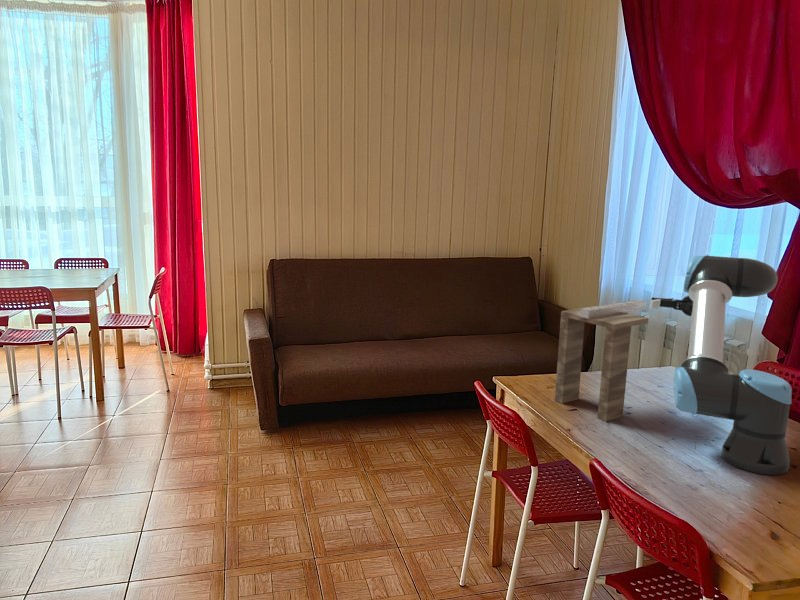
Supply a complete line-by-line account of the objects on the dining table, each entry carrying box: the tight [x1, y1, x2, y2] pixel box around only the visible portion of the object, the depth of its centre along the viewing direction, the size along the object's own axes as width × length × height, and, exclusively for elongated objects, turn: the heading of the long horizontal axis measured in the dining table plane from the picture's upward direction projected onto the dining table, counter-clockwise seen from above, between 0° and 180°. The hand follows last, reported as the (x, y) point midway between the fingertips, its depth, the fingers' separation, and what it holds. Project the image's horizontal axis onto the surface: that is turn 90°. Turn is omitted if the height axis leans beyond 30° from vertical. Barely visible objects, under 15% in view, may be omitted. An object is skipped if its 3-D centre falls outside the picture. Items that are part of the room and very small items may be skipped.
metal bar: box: [581, 299, 647, 319], centre depth 188 cm, size 3×28×2 cm, turn 124°
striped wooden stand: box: [554, 305, 649, 422], centre depth 189 cm, size 20×16×30 cm
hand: (671, 309), depth 197 cm, fingers open, 13 cm apart
